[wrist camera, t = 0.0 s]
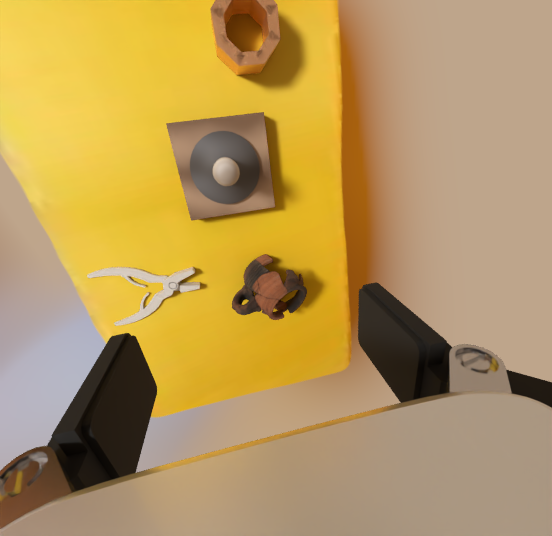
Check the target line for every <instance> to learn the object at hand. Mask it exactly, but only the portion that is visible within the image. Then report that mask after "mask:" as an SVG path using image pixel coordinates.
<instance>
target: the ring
mask: <svg viewBox="0 0 552 536" xmlns="http://www.w3.org/2000/svg"><path fill="white" fill-rule="evenodd" d="M248 13H249V14H250V15H251V16H252V18H253V19H254V20H255V21H256V22H257V23H258V24H259V25H260V26H261V27H262V35H263V45H262V46H261V48H260V49H259V51H250V52H241V51H240V50H239V49H238V48H237V47H236V46H235V45H234V44H233V43H232V42H231V41H230V40H229V39H228V38H227V35H226V29H225V26H226V25H227V23H228V21H229V20H230V18H231V16H232V15H234V14H248ZM211 20H212V29H213V35H214V41H215V46H216V52H217V57H218V58H219V59H220V60H221V61H223V62H224V63H225V64H226V65H227V66H228V67H229V68H230V69H231V70H232V71H233V72H234V73H235V74H236V75H245V74H256V73H260V72H261V71H262V69H263V68H264V66H265V65H266V63H267V61H268V60H269V58H270V57H271V55H272V54H273V52H274V50H275V48H276V46H277V44H278V43H279V41H280V31H279V19H278V8H277V4H276V3H275V1H274V0H215V2H214V4H213V6H212V7H211Z"/></svg>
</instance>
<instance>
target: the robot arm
mask: <svg viewBox="0 0 552 536" xmlns="http://www.w3.org/2000/svg"><path fill="white" fill-rule="evenodd" d="M358 329H359V330H358V340H359V344H360V346H361V347H362V349H363V350H364V351H365V353H366V354H367V356H368V357H369V358H370V360H371V361H372V363H373V364H374V365H375V367H376V368H377V370H378V371H379V373H380V374H381V375H382V377H383V378H384V379H385V381H386V382H387V384H388V385H389V387H391V389H392V391H393V392H394V393H395V395H396V397H397V398H398V399H399V401H400V402H401V403H399V404H394V405H391V406H386V407H382V408H378V409H374V410H371V411H367V412H363V413H359V414H355V415H351V416H347V417H343V418H339V419H336V420H332V421H328V422H324V423H320V424H316V425H313V426H308V427H305V428H301V429H297V430H293V431H290V432H286V433H282V434H278V435H274V436H271V437H267V438H263V439H259V440H255V441H251V442H248V443H244V444H240V445H236V446H233V447H229V448H225V449H222V450H218V451H214V452H210V453H207V454H203V455H199V456H196V457H192V458H188V459H184V460H181V461H177V462H174V463H169V464H166V465H162V466H158V467H155V468H152V469H148V470H144V471H141V472H137V473H135V472H136V469H137V465H138V461H139V457H140V454H141V450H142V446H143V443H144V439H145V435H146V431H147V428H148V424H149V420H150V417H151V413H152V409H153V406H154V402H155V398H156V395H157V386H156V383H155V380H154V378H153V376H152V373H151V371H150V369H149V366H148V364H147V362H146V359H145V357H144V355H143V352H142V350H141V348H140V345H139V343H138V341H137V339H136V337H135V336H131V335H130V334H129V333H125V334H120V335H116V336H112V337H111V338H110V339H109V341H108V342H107V344H106V346H105V347H104V349H103V351H102V353H101V354H100V356H99V357H98V359H97V361H96V362H95V364H94V366H93V368H92V369H91V371H90V373H89V374H88V376H87V377H86V379H85V381H84V382H83V384H82V386H81V388H80V389H79V391H78V392H77V394H76V396H75V397H74V399H73V401H72V402H71V404H70V406H69V407H68V409H67V411H66V413H65V414H64V416H63V417H62V419H61V421H60V422H59V424H58V426H57V427H56V429H55V431H54V432H53V434H52V438H51V440H50V442H49V443H48V445H47V446H41V447H36V448H33V449H31V450H28V451H26V452H25V453H23V454H21V455H19V456H18V457H16V458H15V459H13V460H12V461H11V462H10V463H8V464H7V465H6V466H5V467H4V468H3V469H2V470H1V471H0V536H552V382H548V381H545V380H541V379H537V378H534V377H530V376H527V375H523V374H519V373H516V372H512V371H509V370H506V368H505V365H504V363H503V361H502V360H501V359H500V358H499V357H498V356H497V355H495V354H494V353H492V352H491V351H489V350H487V349H484V348H482V347H479V346H475V345H468V344H462V345H457V346H454V347H451V346H450V345H449V344H448V343H447V341H446V340H445V339H444V338H443V337H441V336H440V335H439V334H438V333H437V332H435V331H434V330H433V329H432V328H431V327H429V326H428V325H427V324H426V323H425V322H424V321H422V320H421V319H420V318H419V317H418V316H416V315H415V314H414V313H413V312H412V311H411V310H409V309H408V308H407V307H406V306H404V305H403V304H402V303H401V302H400V301H399V300H397V299H396V298H395V297H394V296H393V295H392V294H390V293H389V292H388V291H387V290H386V289H384V288H383V287H382V286H381V285H380V284H378V283H371V284H366V285H363V287H362V289H360V290H359V321H358Z"/></svg>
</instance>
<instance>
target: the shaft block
mask: <svg viewBox="0 0 552 536" xmlns="http://www.w3.org/2000/svg"><path fill="white" fill-rule="evenodd" d="M166 125H167V129H168V132H169V136H170V140H171V144H172V148H173V152H174V156H175V159H176V163H177V167H178V171H179V175H180V179H181V183H182V187H183V190H184V194H185V198H186V202H187V206H188V210H189V214H190V218H191V220H197V219H203V218H209V217H216V216H222V215H228V214H234V213H241V212H247V211H253V210H259V209H266V208H272V207H275V202H274V194H273V186H272V177H271V169H270V161H269V153H268V144H267V136H266V128H265V119H264V112H261V113H253V114H244V115H236V116H227V117H218V118H210V119H201V120H193V121H184V122H175V123H167V124H166Z"/></svg>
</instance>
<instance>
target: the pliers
mask: <svg viewBox="0 0 552 536" xmlns="http://www.w3.org/2000/svg"><path fill="white" fill-rule="evenodd" d="M194 273H195V268H194V267H191V268H188V269H185V270H182V271H178V272H175V273H174V274H173V275H171V276H167V275H155V274H151V273H149V272H147V271H144V270H142V269H137V268H131V267H112V268H106V269H101V270H98V271H95V272H92V273H90V274H88V275H87V276H88V278H92V277H100V276H109V275H121V276H122V277H124V278H125V279H126V280H128V281H129V282H131V283H132V284H134V285H137V286H141V287H146V285H144V284H140V283H137V282H135V281H133V280H132V279H131V278H130V277H129V276H132V277H136V278H139V279H142V280H144V281H147V282H149V283H151V282H162V283H163V288H164V290H162V291H160V292H158V293H156V294H155V295H154V297H153V299H152V300H151V302H150V303H149V304H148V305H147V306H146V307H145V308H144V305H143V303H144V300H145V298H146V297H147V296H148V295H149V292H148V293H147V294H146V295H145V296H144V297H143V299H142V301H141V304H140V311H139V312H137V313H136V314H134V315H132V316H130V317H127V318H125V319H122V320H120V321H117V322H115V323H114V324H115V326H117V325H124V324H129V323H132V322H135V321H138V320H140V319H142V318H144V317H146V316H148V315H149V314H151V313H152V312H153V311H155V310H156V309H157V308H158V307H159V305H160V303H161V302H162V300H163V299H165V298H167V297H169V296H171V295H172V293H173V291H180V292H181V293H182V292H186V291H191V290H196V289H200V282H187V283H181V282H179V281H181V280H183V279H185V278H186V277H188V276H190V275H192V274H194Z"/></svg>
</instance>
